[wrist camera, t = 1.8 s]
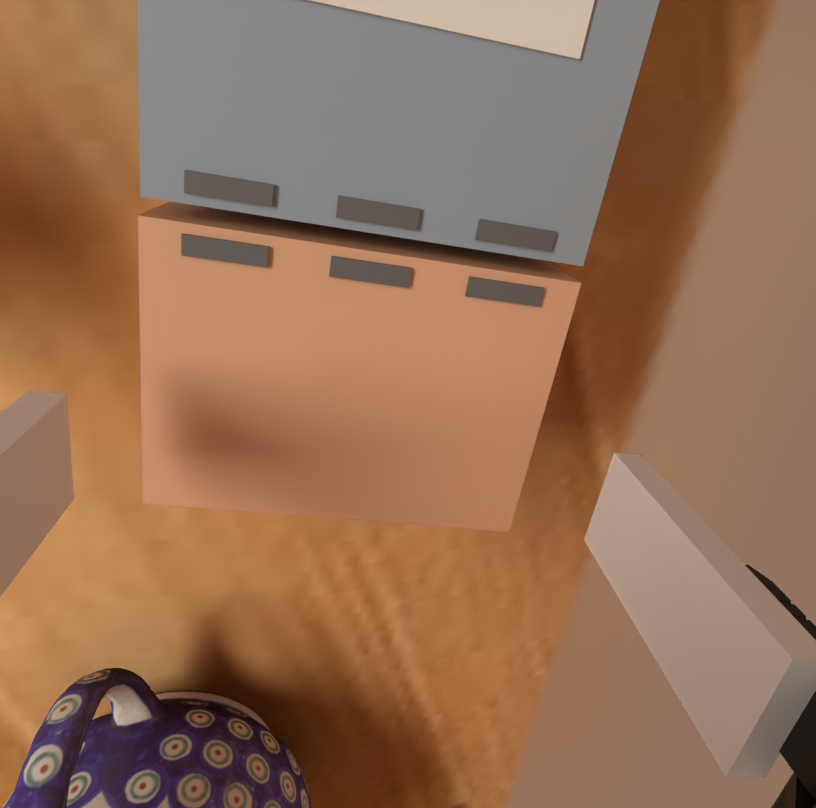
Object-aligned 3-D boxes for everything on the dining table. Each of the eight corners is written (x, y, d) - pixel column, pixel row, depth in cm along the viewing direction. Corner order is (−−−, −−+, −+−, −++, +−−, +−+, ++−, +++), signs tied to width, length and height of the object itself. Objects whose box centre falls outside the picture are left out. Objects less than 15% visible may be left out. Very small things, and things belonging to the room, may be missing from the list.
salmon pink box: (208, 185, 21) (136, 216, 14) (505, 233, 23) (583, 284, 15) (202, 390, 24) (141, 505, 17) (462, 419, 26) (510, 534, 19)
